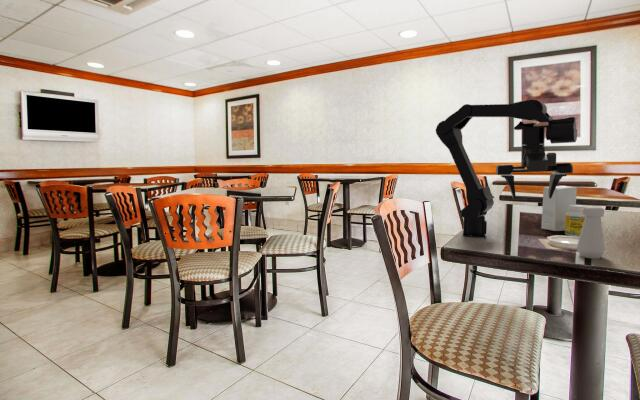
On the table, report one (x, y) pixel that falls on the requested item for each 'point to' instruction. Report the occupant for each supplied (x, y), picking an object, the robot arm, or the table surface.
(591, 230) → the salt shaker
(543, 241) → the placemat
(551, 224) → the skincare box
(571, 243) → the dish
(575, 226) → the supplement bottle
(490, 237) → the table surface
